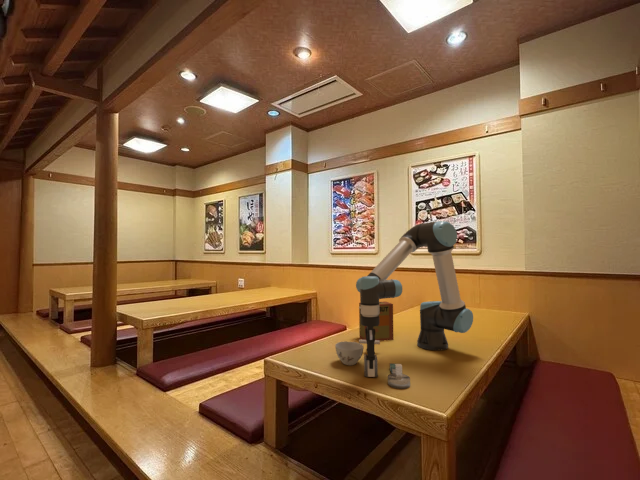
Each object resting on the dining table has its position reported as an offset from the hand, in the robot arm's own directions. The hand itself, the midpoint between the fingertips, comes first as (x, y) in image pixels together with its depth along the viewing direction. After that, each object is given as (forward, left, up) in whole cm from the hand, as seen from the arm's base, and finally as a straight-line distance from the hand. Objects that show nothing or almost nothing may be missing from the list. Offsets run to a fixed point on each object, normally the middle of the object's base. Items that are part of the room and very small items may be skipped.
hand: (370, 373), depth 128 cm
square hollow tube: (0, 0, 0) cm, 0 cm away
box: (-6, -54, -1) cm, 54 cm away
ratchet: (-10, +2, -1) cm, 10 cm away
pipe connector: (-1, -29, -1) cm, 29 cm away
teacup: (+8, -14, -1) cm, 16 cm away
